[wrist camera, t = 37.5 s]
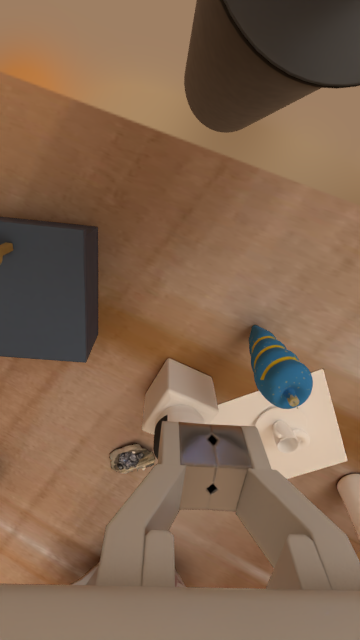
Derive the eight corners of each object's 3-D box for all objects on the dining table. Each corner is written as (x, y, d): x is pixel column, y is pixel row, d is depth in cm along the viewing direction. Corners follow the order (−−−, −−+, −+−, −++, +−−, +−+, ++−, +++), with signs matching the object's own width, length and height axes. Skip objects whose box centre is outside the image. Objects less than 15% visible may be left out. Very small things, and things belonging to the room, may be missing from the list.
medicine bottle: (187, 411, 47) (193, 484, 36) (144, 393, 46) (136, 464, 35) (212, 376, 45) (226, 443, 34) (167, 356, 43) (167, 420, 32)
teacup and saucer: (312, 437, 50) (323, 458, 46) (263, 452, 51) (270, 474, 48) (299, 396, 47) (310, 416, 43) (247, 414, 48) (253, 434, 44)
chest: (-69, 209, 34) (-112, 216, 29) (98, 226, 35) (85, 237, 30) (-45, 322, 40) (-77, 346, 35) (98, 334, 41) (87, 358, 36)
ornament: (264, 302, 40) (312, 372, 26) (281, 332, 42) (335, 411, 28) (228, 323, 41) (257, 400, 28) (246, 351, 43) (282, 436, 29)
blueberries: (163, 453, 51) (163, 463, 49) (133, 480, 53) (131, 491, 52) (129, 434, 49) (127, 443, 47) (99, 462, 51) (96, 473, 50)
